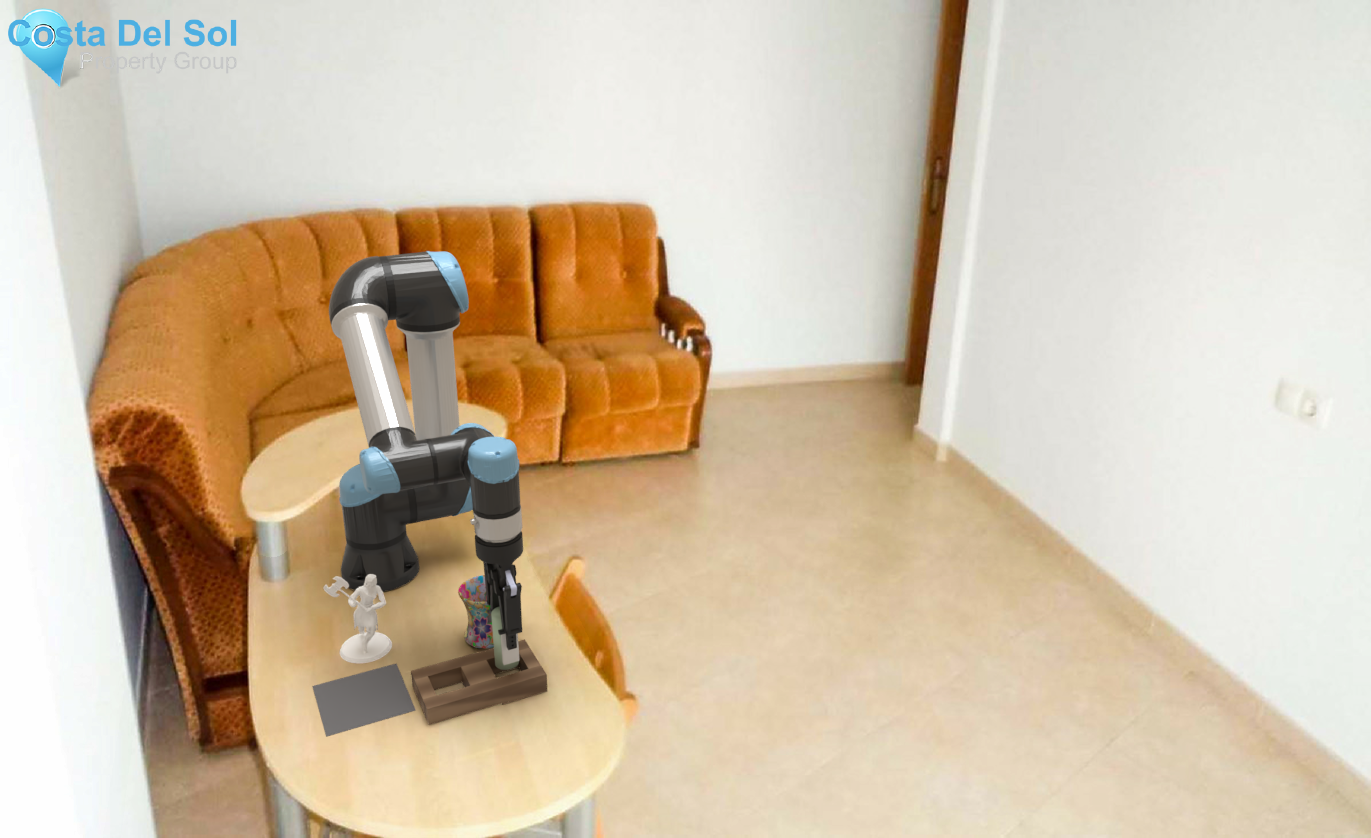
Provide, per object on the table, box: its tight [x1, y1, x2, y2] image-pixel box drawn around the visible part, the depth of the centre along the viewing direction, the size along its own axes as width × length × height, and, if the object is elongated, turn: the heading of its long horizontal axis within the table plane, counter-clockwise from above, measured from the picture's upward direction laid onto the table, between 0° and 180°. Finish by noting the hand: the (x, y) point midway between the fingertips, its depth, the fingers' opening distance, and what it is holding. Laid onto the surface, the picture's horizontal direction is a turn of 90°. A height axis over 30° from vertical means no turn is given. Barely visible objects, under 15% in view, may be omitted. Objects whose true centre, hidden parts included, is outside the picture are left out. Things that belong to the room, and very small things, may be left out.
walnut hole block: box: [410, 639, 548, 726], centre depth 166 cm, size 11×20×4 cm, turn 118°
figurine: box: [323, 574, 393, 664], centre depth 174 cm, size 10×10×18 cm
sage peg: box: [491, 607, 519, 671], centre depth 166 cm, size 4×4×10 cm
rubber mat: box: [312, 662, 417, 737], centre depth 164 cm, size 14×14×1 cm
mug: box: [457, 574, 494, 650], centre depth 180 cm, size 12×9×11 cm
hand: (506, 654), depth 167 cm, fingers closed on sage peg, 4 cm apart
